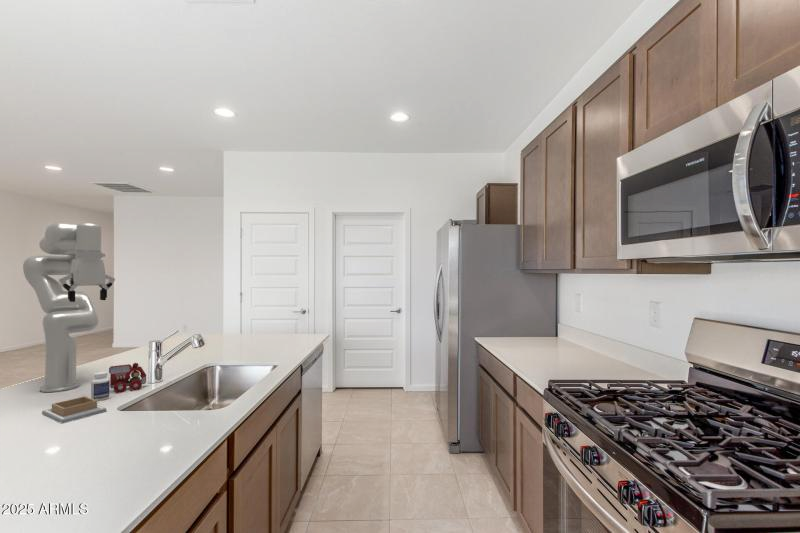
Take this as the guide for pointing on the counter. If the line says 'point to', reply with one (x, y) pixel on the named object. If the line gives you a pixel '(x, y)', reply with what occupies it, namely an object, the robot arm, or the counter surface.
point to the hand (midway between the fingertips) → (88, 300)
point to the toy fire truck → (126, 377)
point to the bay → (73, 409)
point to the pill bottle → (100, 386)
